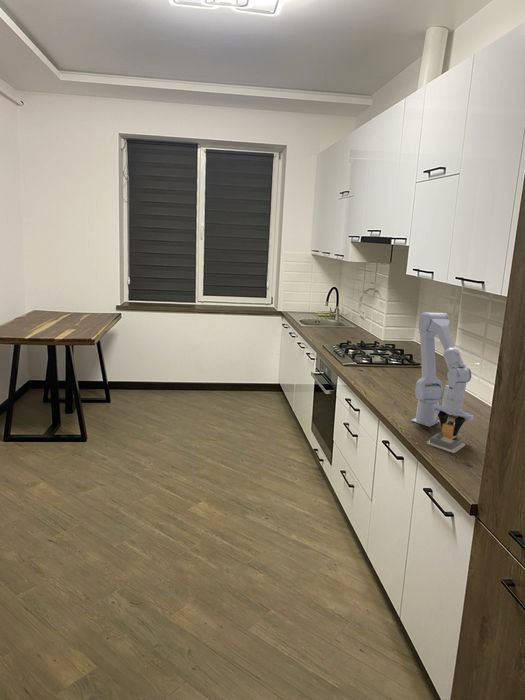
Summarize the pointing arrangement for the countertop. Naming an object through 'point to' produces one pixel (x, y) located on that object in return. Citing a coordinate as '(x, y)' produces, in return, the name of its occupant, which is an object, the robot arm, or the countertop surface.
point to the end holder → (445, 443)
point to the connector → (448, 429)
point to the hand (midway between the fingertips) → (449, 433)
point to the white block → (445, 395)
